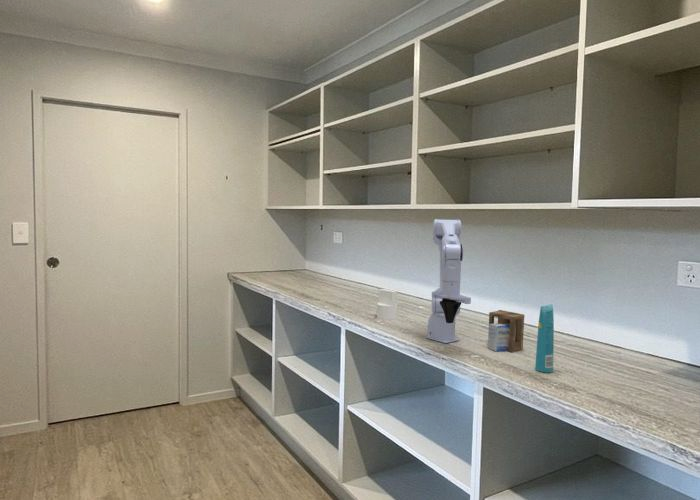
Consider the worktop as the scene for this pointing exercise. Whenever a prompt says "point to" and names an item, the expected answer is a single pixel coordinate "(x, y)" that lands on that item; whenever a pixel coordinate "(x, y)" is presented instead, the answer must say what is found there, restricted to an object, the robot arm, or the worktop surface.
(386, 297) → the base with upright slab
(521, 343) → the walnut bay
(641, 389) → the worktop surface
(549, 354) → the tube
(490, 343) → the medicine box
